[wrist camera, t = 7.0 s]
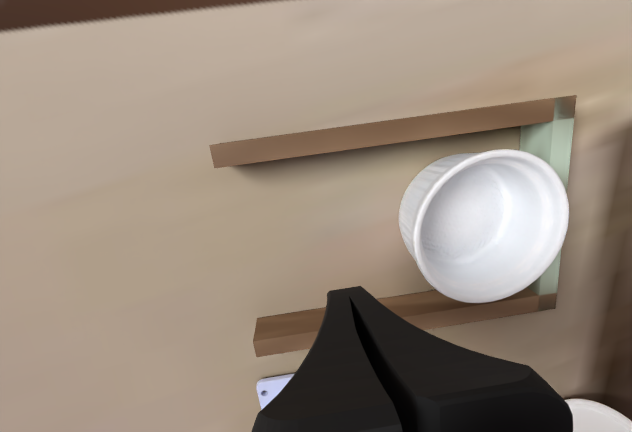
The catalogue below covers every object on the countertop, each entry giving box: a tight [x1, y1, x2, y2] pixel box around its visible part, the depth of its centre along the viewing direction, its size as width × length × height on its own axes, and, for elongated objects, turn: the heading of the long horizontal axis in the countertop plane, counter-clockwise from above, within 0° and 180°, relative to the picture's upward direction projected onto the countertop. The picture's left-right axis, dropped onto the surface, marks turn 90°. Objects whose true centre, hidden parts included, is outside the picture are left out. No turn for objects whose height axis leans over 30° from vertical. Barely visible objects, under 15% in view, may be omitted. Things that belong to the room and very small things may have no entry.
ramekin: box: [399, 149, 569, 303], centre depth 19 cm, size 9×9×4 cm
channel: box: [209, 95, 576, 357], centre depth 19 cm, size 13×20×2 cm
